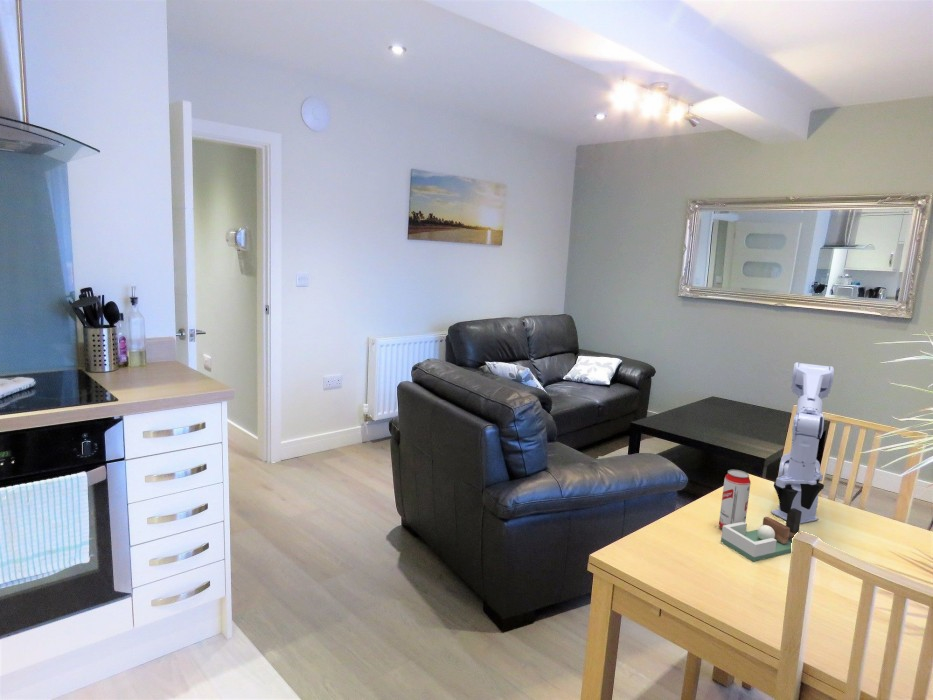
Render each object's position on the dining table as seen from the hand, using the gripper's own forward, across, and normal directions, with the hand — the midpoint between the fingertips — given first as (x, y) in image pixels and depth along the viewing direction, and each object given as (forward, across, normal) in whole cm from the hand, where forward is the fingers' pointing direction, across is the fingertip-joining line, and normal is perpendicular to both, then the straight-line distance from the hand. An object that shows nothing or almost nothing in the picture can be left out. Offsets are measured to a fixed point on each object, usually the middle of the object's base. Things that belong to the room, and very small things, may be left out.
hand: (795, 509), depth 148 cm
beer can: (+8, -11, +9) cm, 17 cm away
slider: (+7, -3, 0) cm, 7 cm away
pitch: (+8, -8, 0) cm, 12 cm away
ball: (+5, -9, 0) cm, 11 cm away
